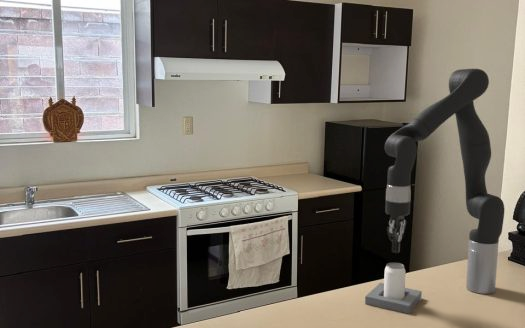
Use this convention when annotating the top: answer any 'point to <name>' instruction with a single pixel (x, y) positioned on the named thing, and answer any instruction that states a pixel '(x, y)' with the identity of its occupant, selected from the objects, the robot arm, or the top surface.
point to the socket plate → (403, 305)
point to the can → (394, 281)
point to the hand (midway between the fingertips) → (395, 252)
